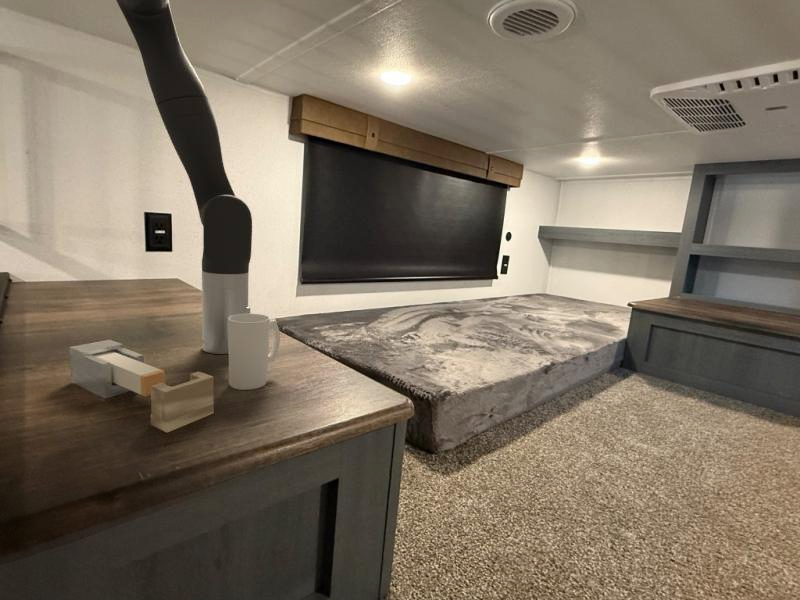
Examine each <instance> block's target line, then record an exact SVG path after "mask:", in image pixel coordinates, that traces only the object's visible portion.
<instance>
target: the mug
mask: <svg viewBox="0 0 800 600" xmlns="http://www.w3.org/2000/svg"><path fill="white" fill-rule="evenodd" d="M270 330H271V331H272V332H273V335H274V337H273V338H274V340H273V345H272V348H271V350H270V351H269V349H270V348H269V346H270ZM280 343H281V332H280V328H279V326H278V323H277V319H275V318H274V319H271V317H270V316H269V315H267V314H260V313H250V314H237V315H232V316H230V317H228V349H229V354H228V381H229V383H228V384H229V387H231V388H232V389H235V390H239V391H240V390H242V391H249V390H250V391H251V390H256V389H257V390H258V389H260V388H262V387H264V386H265V385H267V383H268V368H269V364H270V363H274V362H275V361H276V358H277V354H278V351H279V348H280V345H281V344H280Z"/></svg>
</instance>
